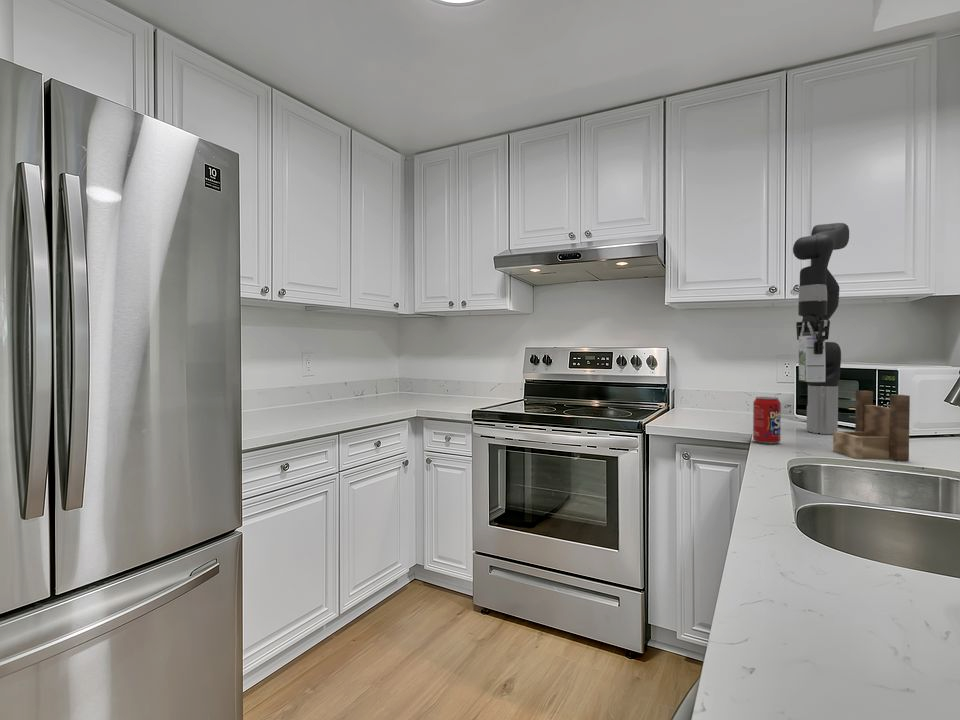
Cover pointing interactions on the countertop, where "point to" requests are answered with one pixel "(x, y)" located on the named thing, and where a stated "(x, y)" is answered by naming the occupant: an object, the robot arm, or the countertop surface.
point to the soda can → (766, 420)
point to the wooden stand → (877, 430)
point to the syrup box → (810, 361)
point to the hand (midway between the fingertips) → (811, 353)
